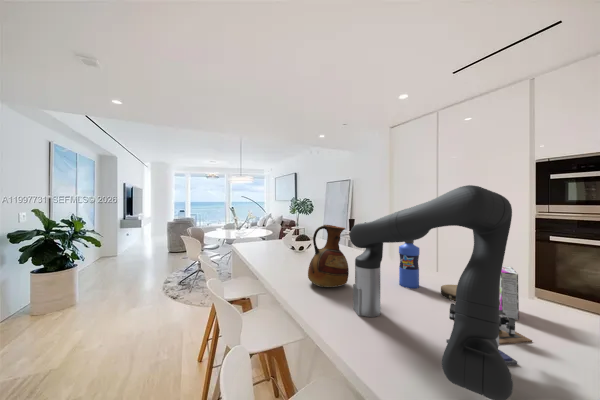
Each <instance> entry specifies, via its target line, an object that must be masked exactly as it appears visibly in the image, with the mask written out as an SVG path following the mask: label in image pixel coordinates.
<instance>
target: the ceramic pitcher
mask: <svg viewBox="0 0 600 400" xmlns="http://www.w3.org/2000/svg"><path fill="white" fill-rule="evenodd" d="M320 230H325V231H326V233H327V237H326V241H325V245H324V246H323V247H322V248H318V246H317V239H316V238H317V234H318V233H319V231H320ZM344 230H346V228H345V227H343V226H341V227H340V226H336V225H333V224H332V225H331V224H327V223H326V224H323V225H321V226H319V227H317V228H316V230H315V231H314V234H313V235H312V236H313V237H312V241H313V247H314V255H313V257H312V258H311V260H310V262H309V265H308V268H307V269H308V270H307V278H308V279H309V281H310V282H311V283H312V284H314V285H315V286H318V287H321V288H335V287H340V286H344V285H346V284H347V282H348V280H349V273H350V271H349V264H348V260H347V258H346V256H345V255H344V253H343V252H342V251H341V249H340V245H339V244H340V241H341V234H342V233H343V232H344Z"/></svg>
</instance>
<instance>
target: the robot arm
mask: <svg viewBox="0 0 600 400" xmlns="http://www.w3.org/2000/svg"><path fill="white" fill-rule="evenodd" d="M512 218H513V208H512V204H511V202H510V201H509V199H508V198H507V197H506V196H503V195H502V194H500V193H497V192H496V191H495V192H494V191H493V190H489V189H487V188H485V187H482V186H478V185H472V184H471V185H470V184H469V185H463V186H458V187H457V188H454V189H452V190H449V191H448V192H445V193H444V194H442V195H439V196H438V197H435V198H433V199H431V200H428V201H426V202H423V203H420V204H417V205H414V206H411V207H409V208H404V209H401V210H398V211H395V212H393V213H391V214H388V215H385V216H383V217H380V218H377V219H374V220H372V221H369V222H368V221H367V222H362V223H361V222H360V223H356V224H354V225H353V226H352V227H351V230H350V232H349V239H350V242H351V243H352V244H353V246H354V247H356V248H358V249H365V250H364V251H363V252H362V253H361V254H359V255H358V256H356V257H355V258H354V259H355V260H354V283H353V284H352V286H353V287H352V292H353V293H352V295H353V297H352V301H353V302H352V303H353V304H352V308H353V311H354V312H355V313H356V314H357V316H362V317H366V318H376V317H379V316H380V315H381V309H382V308H381V266H382V265H381V262H382V261H383V257H384V256H383V255H384V254H383V253H384V252H383V251H384V244H385V243H390V244H391V243H392V244H393V243H395V244H396V243H405V242H406V241H412V240H414V241H416V240H420V239H423V238H424V237H425V236H427V234H428V233H429V232H430V231H431V230H432V229H437V228H442V227H452V226H456V227H463V228H464V229H465V228H467V229H469V230H472V233H473V234H472V235H473V248H472V253H471V255H470V259H469V261H468V263H467V265H466V266H465V268H464V269H463V270H462V273H461V275H460V277H459V279H458V281H457V284H456V285H457V289H456V302H455V301H454V302H455V303H452V302H451V303H450V306H449V319H450V320H451V321H453V320H454V321H453V326H452V330H451V333H450V337H449V341H448V343H447V344H446V346H445V348H444V351H443V355H442V356H441V357H442V358H441V367H442V368H441V369H442V371H443V373H444V376H445V377H446V379H447V380H448V381H449V382H450V383H452V384H454V385H456V386H458V387H460V388H463V389H465V390H468V391H470V392H472V393H475V394H478V395H480V396H483V397H485V398H487V399H490V400H508V399H510V397H511V396H512V394H513V391H514V390H513V389H514V384H513V377H512V374H511V371H510V369H509V368H510V367H509V365H507V364H506V362H505V360H504V359H503V357H502V356H501V355H500V353H499V352H498V349H499V347H500V344H499V343H500V342H499V332H500V331H501V330H502V331H505V332H506V333H508V335H509V336H511V337H515V332H516V319H514V318H506V314H505V313H503V312H502V310H499V289H500V278H501V271H502V266H504V265H503V264H504V259H505V254H506V250H507V249H506V248H507V244H508V239H509V234H510V230H511V226H512V225H511V224H512Z"/></svg>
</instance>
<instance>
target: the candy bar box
mask: <svg viewBox="0 0 600 400" xmlns="http://www.w3.org/2000/svg"><path fill="white" fill-rule="evenodd" d="M499 300H500V306H499V310H502V312H503V313H505V314H506V318H508V319H509V318H514V319H515V321H519V319H520V310H519V309H520V308H519V307H520V306H519V303H520V302H519V301H520V300H519V273H517V272H516V270H515V269H514V268H513V266H506V265H502V271H501V278H500V289H499Z"/></svg>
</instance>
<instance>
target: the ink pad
mask: <svg viewBox="0 0 600 400" xmlns="http://www.w3.org/2000/svg"><path fill="white" fill-rule="evenodd" d="M449 339H450V338H449ZM449 339H446V343H447V344H448V341H449ZM498 352H499V353H500V355H501V356H502V357H503V359H504V360H505V362H506V364H507V366H516V365H518V360H516V359H514V358H512V356H510V355H508V354H507V353H505V352H503V351H502V350H501V349H499V348H498Z"/></svg>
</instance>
